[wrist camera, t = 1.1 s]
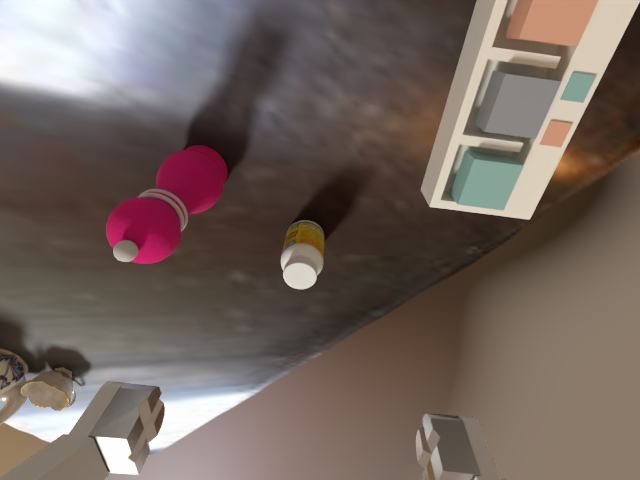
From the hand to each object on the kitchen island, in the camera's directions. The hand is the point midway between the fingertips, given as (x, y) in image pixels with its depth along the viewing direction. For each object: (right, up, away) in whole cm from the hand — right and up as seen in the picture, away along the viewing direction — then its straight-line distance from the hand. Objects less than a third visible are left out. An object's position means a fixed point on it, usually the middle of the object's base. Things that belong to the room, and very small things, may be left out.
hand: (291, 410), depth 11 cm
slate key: (+20, +19, +24) cm, 37 cm away
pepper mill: (-14, +15, +34) cm, 39 cm away
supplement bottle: (-1, +6, +38) cm, 39 cm away
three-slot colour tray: (+21, +21, +28) cm, 41 cm away
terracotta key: (+21, +26, +20) cm, 39 cm away
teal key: (+19, +13, +29) cm, 37 cm away
